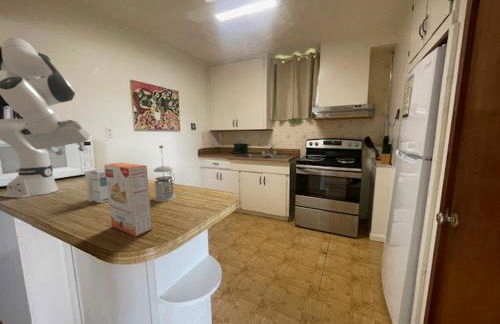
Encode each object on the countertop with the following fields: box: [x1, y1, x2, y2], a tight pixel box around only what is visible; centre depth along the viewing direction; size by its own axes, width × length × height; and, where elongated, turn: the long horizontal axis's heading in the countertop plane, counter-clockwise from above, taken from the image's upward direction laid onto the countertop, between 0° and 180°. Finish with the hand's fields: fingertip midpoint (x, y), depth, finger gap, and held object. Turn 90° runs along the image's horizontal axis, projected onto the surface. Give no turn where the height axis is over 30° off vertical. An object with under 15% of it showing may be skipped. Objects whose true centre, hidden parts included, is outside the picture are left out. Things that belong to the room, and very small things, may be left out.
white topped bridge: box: [84, 167, 105, 202], centre depth 99 cm, size 16×10×14 cm
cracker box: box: [104, 162, 153, 238], centre depth 65 cm, size 14×6×21 cm, turn 58°
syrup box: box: [91, 168, 109, 204], centre depth 94 cm, size 6×6×14 cm
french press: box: [153, 145, 177, 202], centre depth 97 cm, size 10×12×25 cm
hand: (72, 152), depth 85 cm, fingers open, 8 cm apart
